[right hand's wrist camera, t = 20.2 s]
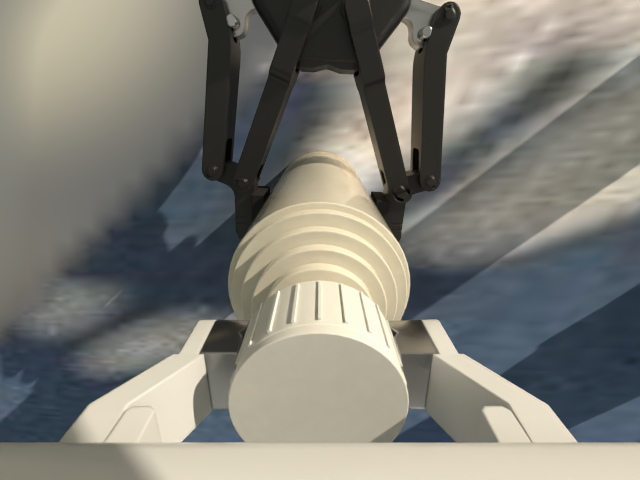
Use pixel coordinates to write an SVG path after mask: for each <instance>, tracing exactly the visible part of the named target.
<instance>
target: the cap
mask: <svg viewBox="0 0 640 480" xmlns="http://www.w3.org/2000/svg"><path fill="white" fill-rule="evenodd" d="M235 364H236V365H237V367H236V370H234V372H233V375H232V378H231V381H230V384H231V385H230V389H229V394H228V407H229V414H230V417H231V420H232V423H233V425H234V427H235V429H236V431H237V432H238V434H239V435H240V437H241V438H242V439H243V440H244V441H245V442H305V443H392V441H393V440H394V439H395V438H396V437H397V435H398V434H399V432H400V431H401V429H402V427H403V425H404V423H405V420H406V416H407V413H408V406H409V397H408V390H407V382H406V379H405V376H404V373H403V372H402V370H401V366H403V365H402V362H401V359H400V356H399V353H398V350H397V347H396V344H395V341H394V338H393V335H392V332H391V329H390V325H389V322H388V320H385V318H384V316H383V314H382V313H381V311H380V309H379V306H378V305H377V304H376V305H375V303H374V302H373V301H371V300H370V299H369V298H368V297H367V296H365V295H364V294H363V292H360V291H358V290H356V289H354V288H352V287H349V286H347V285H344V284H342V283H336V282H331V281H321V280H318V281H306V282H301V283H296V284H293V285H291V286H288V287H285V288H284V289H282V290H280V291H279V290H278V291H276V293H275V294H273V295H272V296H270V297H269V298H268V299H267V300H266V301H265V302H264V303H261V304H260V307H259V309H258V310H257V312H256V313H255V315H254V317H253V319H252V318H251V319H250V321H249V324H248V327H247V330H246V333H245V336H244V339H243V342H242V345H241V348H240V351H239V354H238V356H237V359H236V362H235Z"/></svg>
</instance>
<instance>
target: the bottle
mask: <svg viewBox="0 0 640 480" xmlns="http://www.w3.org/2000/svg"><path fill="white" fill-rule="evenodd" d="M318 280H321V281H331V282H336V283H342V284H344V285H347V286H349V287H352V288H354V289H356V290H358V291H360V292H363V294H364V295H365V296H367V297H368V298H369V299H370V300H371V301H373V302H374V303H375V305H376V304H377V305H378V306H379V309H380V311H381V313H382V314H383V316H384V318H385V320H388V321H400V320H401V318H402V316H403V313H404V311H405V308H406V306H407V302H408V298H409V292H410V273H409V268H408V263H407V260H406V257H405V255H404V252H403V250H402V249H401V247H400V245H399V243H398V241H397V240H396V238H395V236H394V235H393V233H392V231H391V230H390V228H389V226H388V225H387V223H386V221H385V220H384V218H383V216H382V215H381V213H380V211H379V210H378V208H377V207H376V205H375V203H374V202H373V200H372V198H371V197H370V195H369V193H368V192H367V190H366V188H365V187H364V185H363V183H362V182H361V180H360V178H359V177H358V175H357V173H356V172H355V170H354V169H353V167H352V166H351V165H350V164H349V163H348V162H347V161H346V160H344V159H343V158H342V157H340V156H338V155H336V154H333V153H330V152H324V151H315V152H310V153H306V154H304V155H301V156H300V157H298V158H296V159H295V160H294V161H292V162H291V163H290V164H289V165H288V167H287V168H286V169H285V171H284V172H283V174H282V176H281V177H280V179H279V180H278V182H277V184H276V185H275V187H274V188H273V190H272V192H271V193H270V195H269V196H268V198H267V200H266V201H265V203H264V205H263V206H262V208H261V209H260V211H259V213H258V214H257V216H256V217H255V219H254V221H253V222H252V224H251V225H250V227H249V229H248V230H247V232H246V233H245V235H244V237H243V238H242V240H241V242H240V243H239V245H238V247H237V249H236V251H235V253H234V255H233V258H232V261H231V264H230V269H229V274H228V290H229V297H230V301H231V305H232V308H233V310H234V312H235V315H236V317H237V320H250V319H251V318H252V319H253V317H254V315H255V313H256V312H257V310H258V309H259V307H260V304H261V303H264V302H265V301H266V300H267V299H268V298H269V297H270V296H272V295H273V294H275V293H276V291H278V290H279V291H280V290H282V289H284V288H285V287H288V286H291V285H293V284H296V283H301V282H306V281H318Z"/></svg>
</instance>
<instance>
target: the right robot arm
mask: <svg viewBox="0 0 640 480" xmlns="http://www.w3.org/2000/svg"><path fill="white" fill-rule="evenodd" d="M249 321H250V320H199V321H198V322H197V324H196V325H195V327H194V329H193V330H192V332H191V334H190V335H189V337H188V339H187V340H186V342H185V344H184V346H183V347H182V349H181V351H180V352H179V354H173V355H171V356H169V357H168V358H166V359H164V360H163V361H161V362H159V363H157V364H156V365H154V366H152V367H151V368H149V369H147V370H146V371H144V372H142V373H141V374H139V375H137V376H136V377H134V378H132V379H131V380H129V381H127V382H125V383H124V384H122V385H120V386H119V387H117V388H115V389H114V390H112V391H110V392H109V393H107V394H105V395H104V396H102V397H100V398H99V399H97V400H95V401H94V402H92V403H90V404H89V405H88V406H87V407H86V408H85V410H84V411H83V412H82V413H81V415H80V416H79V417H78V418H77V420H76V421H75V422H74V423H73V425H72V426H71V427H70V428H69V430H68V431H67V432H66V433H65V435H64V436H63V437H62V438H61V440H60V441H59V442H0V480H640V442H577V441H576V440H575V439H574V437H573V436H572V435H571V434H570V432H569V431H568V430H567V428H566V427H565V426H564V425H563V423H562V422H561V421H560V419H559V418H558V417H557V416H556V414H555V413H554V412H553V410H552V409H551V408H550V407H549V405H547V404H546V403H544V402H542V401H541V400H539V399H537V398H536V397H534V396H532V395H531V394H529V393H527V392H526V391H524V390H522V389H521V388H519V387H517V386H516V385H514V384H512V383H511V382H509V381H507V380H506V379H504V378H502V377H501V376H499V375H498V374H496V373H494V372H493V371H491V370H489V369H488V368H486V367H484V366H483V365H481V364H479V363H478V362H476V361H474V360H473V359H471V358H469V357H468V356H466V355H464V354H458V352H457V351H456V349H455V347H454V346H453V344H452V342H451V341H450V339H449V337H448V335H447V334H446V332H445V330H444V329H443V327H442V325H441V324H440V322H439V321H438V320H437V319H433V320H405V321H388V322H389V325H390V329H391V332H392V335H393V338H394V341H395V344H396V347H397V350H398V353H399V356H400V359H401V362H402V365H403V366H401V370H402V372H403V373H404V376H405V379H406V382H407V390H408V397H409V406H408V409H425V411H426V412H427V413H428V414H429V415H430V416H431V417H432V418H433V419H434V420H435V421H436V422H437V423H438V424H439V425H440V426H441V427H442V428H443V430H444V431H445V432H446V433H447V434H448V435H449V436H450V437H451V438H452V439H453V440H454V441H455V442H456V443H305V442H190V443H181V442H182V441H183V440H184V439H185V438H186V437H187V436H188V435H189V434H190V433H191V432H192V431H193V430H194V429H195V428H196V427H197V426H198V425H199V424H200V423H201V421H202V420H203V419H204V418H205V417H206V416H207V415H208V414H209V413H210V412H211V411H212V409H229V407H228V394H229V389H230V385H231V384H230V381H231V378H232V375H233V372H234V370H236V367H237V365H236V364H235V362H236V359H237V356H238V354H239V351H240V348H241V345H242V342H243V339H244V336H245V333H246V330H247V327H248V324H249Z"/></svg>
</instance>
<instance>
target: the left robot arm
mask: <svg viewBox="0 0 640 480" xmlns="http://www.w3.org/2000/svg"><path fill="white" fill-rule="evenodd" d="M199 5H200V9H201V13H202V17H203V21H204V24H205V28H206V32H207V36H208V60H207V80H206V99H205V119H204V139H203V159H202V173H203V175H204V176H205V177H206V178H207V179H208V180H211V181H215V180H217V181H219V182H222V183H224V184H226V185H228V186H230V187H231V188H232V190H233V191H234V194H235V211H236V232H237V234H238V236H239V239H242V238H243V237H244V235H245V233H246V232H247V230H248V229H249V227H250V225H251V224H252V222H253V221H254V219H255V217H256V216H257V214H258V213H259V211H260V209H261V208H262V206H263V205H264V203H265V201H266V200H267V198H268V196H269V195H270V187H267V186H258V181H259V179H260V174H261V172H262V169H263V166H264V164H265V161H266V158H267V156H268V153H269V150H270V147H271V145H272V142H273V139H274V137H275V134H276V131H277V129H278V126H279V123H280V121H281V118H282V115H283V113H284V110H285V107H286V104H287V102H288V99H289V96H290V94H291V91H292V89H293V87H294V85H295V82H296V80H297V77H298V74H299V72H300V70H301V72H317V71H321V70H325V69H328V70H331V71H334V72H337V73H339V74H353V75H354V78H355V82H356V86H357V89H358V91H359V94H360V98H361V102H362V106H363V110H364V113H365V117H366V121H367V125H368V129H369V133H370V137H371V141H372V144H373V148H374V152H375V156H376V160H377V164H378V168H379V172H380V175H381V179H382V183H383V187H384V191H383V193H382V192H371V198H372V200H373V202H374V203H375V205H376V207H377V208H378V210H379V211H380V213H381V215H382V216H383V218H384V220H385V221H386V223H387V225H388V226H389V228H390V230H391V231H392V233H393V235H394V236H395V238H396V240H397V241H398V242H399V240H400V238H401V230H402V223H403V216H404V209H405V203H406V202H407V201H409V200H410V199H411V197H412V195H413V194H415V193H419V192H422V191H433V190H435V189H436V188H437V187H438V186H439V184H440V175H441V156H442V138H443V119H444V100H445V81H446V62H447V52H448V50H449V47H450V44H451V41H452V39H453V36H454V33H455V31H456V28H457V25H458V22H459V20H460V15H461V11H460V8H459V6H458V4H456V3H455V2H447V3H444V4H443V5H442V6H441V7H439V6H436V5H433V4H430V3H427V2H425V1H422V0H199ZM257 13H258V14H259V15H260V17H261V19H262V20H263V22H264V23H265V25H266V27H267V28H268V30H269V32H270V33H271V35H272V37H273V38H274V40H275V42H276V43H277V45H278V46H277V49H276V51H275V54H274V57H273V60H272V63H271V66H270V70H269V76H268V79H267V82H266V85H265V88H264V91H263V94H262V97H261V100H260V103H259V106H258V108H257V111H256V114H255V117H254V120H253V123H252V126H251V129H250V132H249V134H248V137H247V140H246V143H245V146H244V149H243V152H242V155H241V158H240V160H239V163H236V162H233V161H232V158H233V146H234V133H235V121H236V109H237V96H238V84H239V71H240V55H241V53H240V42H239V40H241V39H243V38H245V37H246V35H247V34H248V27H249V20H250V18H251V17H252V16H253V15H254V14H257ZM400 22H403V23H404V24H405V25H406V26H407V28H408V30H409V37H408V41H409V44H410V46H411V47H412V48H413V49H415V50H416V52H415V56H414V62H413V84H412V128H411V170H409V171H406V172H405V168H404V163H403V159H402V155H401V150H400V146H399V142H398V137H397V133H396V129H395V124H394V120H393V116H392V111H391V107H390V103H389V98H388V94H387V90H386V85H385V74H384V69H383V64H382V60H381V56H380V51H379V50H380V49H381V47H382V46H383V45H384V43H385V42H386V41H387V39H388V38H389V37H390V35H391V34H392V33H393V32H394V30H395V29H396V28H397V26H398V25H399V24H400Z"/></svg>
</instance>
